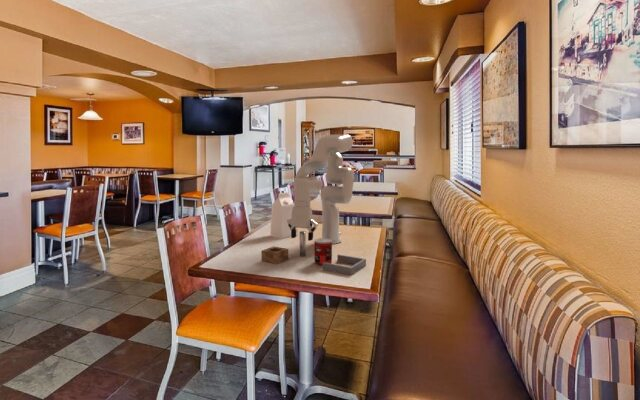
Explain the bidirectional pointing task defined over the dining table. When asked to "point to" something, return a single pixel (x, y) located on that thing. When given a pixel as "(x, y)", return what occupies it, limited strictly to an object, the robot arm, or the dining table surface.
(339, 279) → the dining table surface
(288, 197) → the milk
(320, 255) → the canned food
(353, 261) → the tray
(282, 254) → the block
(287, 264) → the dining table surface
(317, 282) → the dining table surface
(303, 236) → the pin
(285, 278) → the dining table surface
